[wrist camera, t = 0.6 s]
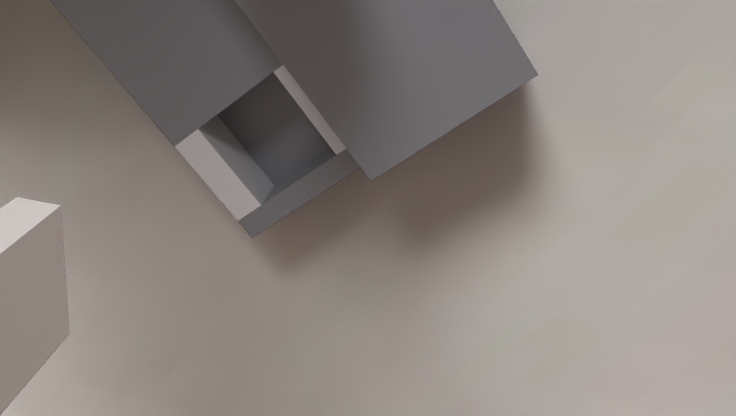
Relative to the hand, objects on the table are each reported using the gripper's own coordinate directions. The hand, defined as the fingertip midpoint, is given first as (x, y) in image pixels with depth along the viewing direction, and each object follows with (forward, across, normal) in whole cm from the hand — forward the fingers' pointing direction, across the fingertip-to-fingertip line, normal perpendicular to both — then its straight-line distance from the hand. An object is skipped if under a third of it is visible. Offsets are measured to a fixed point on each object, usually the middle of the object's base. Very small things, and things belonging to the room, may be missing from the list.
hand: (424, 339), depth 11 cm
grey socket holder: (+26, -8, +1) cm, 27 cm away
